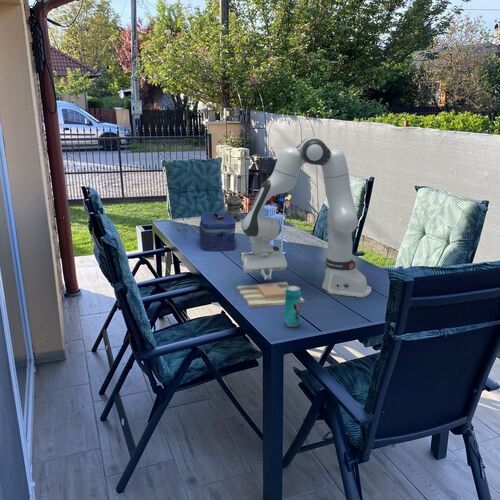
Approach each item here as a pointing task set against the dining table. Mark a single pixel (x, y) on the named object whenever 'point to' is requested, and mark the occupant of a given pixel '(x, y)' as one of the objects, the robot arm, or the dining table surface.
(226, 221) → the lunch bag
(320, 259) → the dining table surface
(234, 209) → the apothecary jar
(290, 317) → the beverage can
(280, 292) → the tile
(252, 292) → the board
